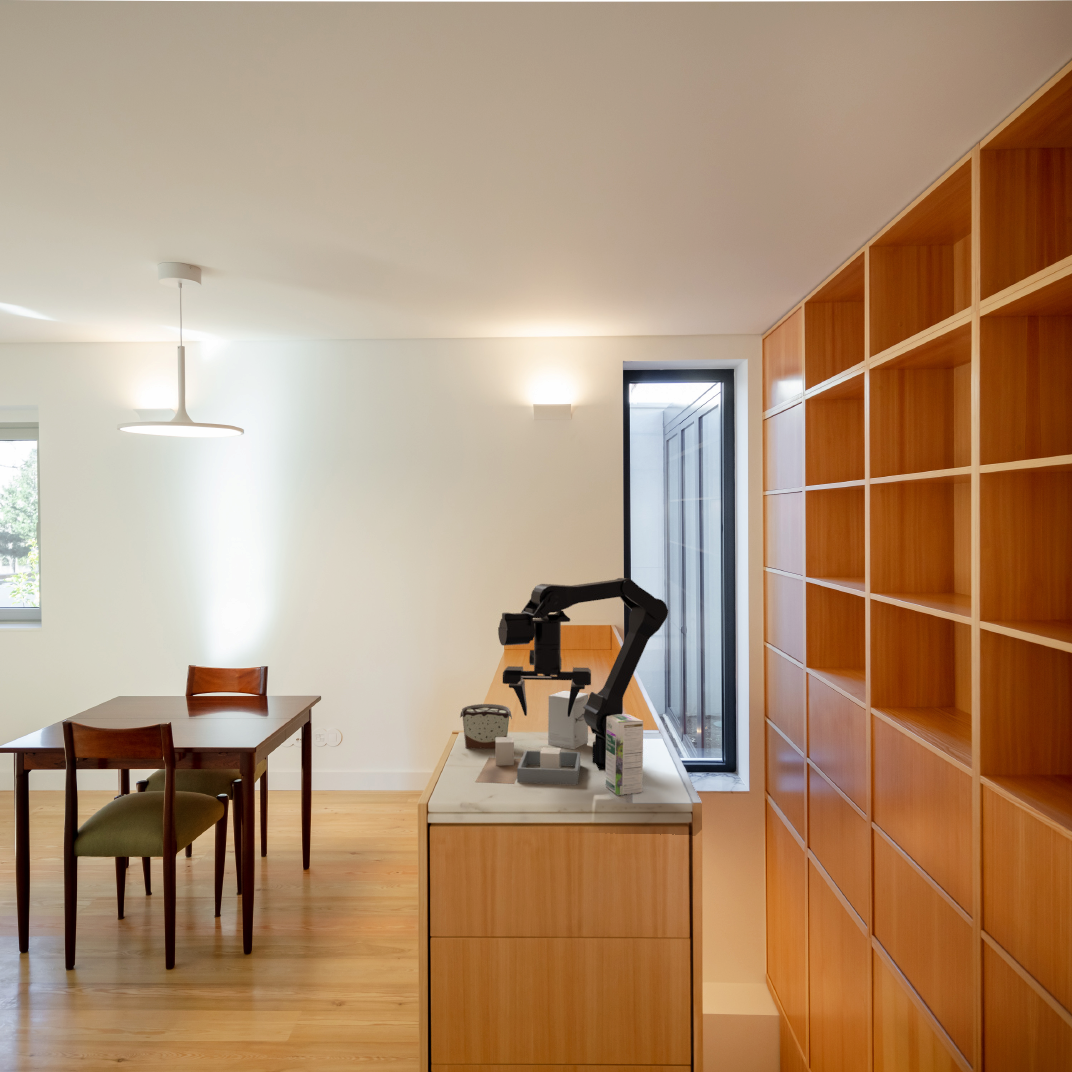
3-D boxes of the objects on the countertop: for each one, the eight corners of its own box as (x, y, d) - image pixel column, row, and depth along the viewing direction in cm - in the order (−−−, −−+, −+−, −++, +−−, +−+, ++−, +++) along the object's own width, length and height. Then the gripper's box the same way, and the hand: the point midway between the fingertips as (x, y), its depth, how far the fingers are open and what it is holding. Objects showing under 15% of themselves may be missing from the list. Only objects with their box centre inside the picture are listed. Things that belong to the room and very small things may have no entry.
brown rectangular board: (524, 762, 160) (524, 758, 160) (514, 787, 144) (514, 783, 144) (489, 761, 161) (489, 757, 161) (475, 785, 145) (475, 781, 145)
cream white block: (513, 759, 159) (513, 737, 159) (513, 765, 155) (514, 742, 155) (495, 759, 159) (495, 737, 159) (495, 765, 155) (495, 742, 155)
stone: (560, 771, 152) (560, 748, 152) (559, 778, 148) (559, 753, 148) (541, 770, 152) (542, 747, 152) (540, 777, 148) (540, 753, 148)
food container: (515, 745, 173) (515, 704, 173) (511, 753, 167) (511, 710, 166) (464, 743, 174) (465, 702, 174) (459, 751, 168) (459, 708, 168)
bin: (580, 768, 155) (580, 752, 155) (577, 788, 143) (577, 770, 143) (524, 766, 157) (524, 750, 157) (517, 786, 145) (517, 768, 145)
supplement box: (573, 752, 167) (574, 699, 167) (547, 747, 171) (547, 694, 171) (589, 745, 173) (589, 693, 173) (562, 740, 177) (563, 689, 177)
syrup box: (604, 787, 144) (604, 715, 144) (629, 783, 147) (630, 712, 147) (617, 796, 139) (618, 722, 139) (644, 792, 141) (644, 719, 141)
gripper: (590, 638, 160) (590, 707, 160) (508, 637, 161) (508, 706, 161) (591, 645, 149) (590, 720, 149) (502, 644, 150) (502, 718, 150)
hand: (547, 715), depth 153 cm, fingers open, 9 cm apart
